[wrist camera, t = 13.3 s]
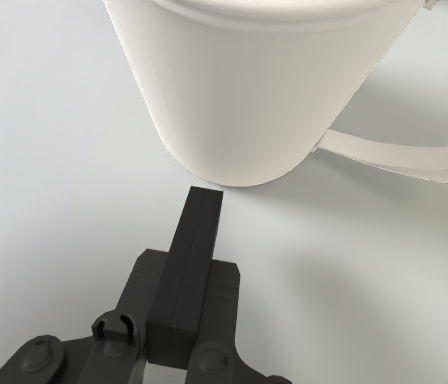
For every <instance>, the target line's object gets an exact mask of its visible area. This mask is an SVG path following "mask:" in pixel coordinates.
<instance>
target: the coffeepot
mask: <svg viewBox="0 0 448 384" xmlns="http://www.w3.org/2000/svg"><path fill="white" fill-rule="evenodd" d="M425 1H426V0H103V2H104V4H105V6H106V9H107V11H108V14H109V16H110V18H111V21H112V23H113V26H114V28H115V31H116V33H117V35H118V38H119V40H120V43H121V45H122V47H123V50H124V52H125V55H126V57H127V60H128V62H129V64H130V67H131V69H132V72H133V74H134V76H135V79H136V81H137V84H138V86H139V89H140V91H141V93H142V96H143V98H144V101H145V103H146V105H147V108H148V110H149V113H150V115H151V118H152V120H153V122H154V125H155V127H156V130H157V132H158V134H159V137H160V139H161V141H162V142H163V144H164V146H165V147H166V149H167V150H168V151H169V153H170V154H171V155H172V156H173V157H174V159H175V160H176V161H177V162H178V163H179V164H181V165H182V166H183V167H184V168H186V169H187V170H188V171H190V172H191V173H193V174H195V175H196V176H198V177H200V178H202V179H204V180H207V181H209V182H213V183H216V184H220V185H225V186H234V187H245V186H253V185H259V184H263V183H266V182H269V181H272V180H274V179H277V178H279V177H281V176H283V175H284V174H286V173H288V172H289V171H291V170H292V169H293V168H295V167H296V166H297V165H298V164H299V163H300V162H301V161H302V160H303V159H304V158H305V157H306V156H307V155H308V154H309V152H310V151H311V152H314V151H315V150H316V149H317V148H323V149H326V150H328V151H331V152H334V153H336V154H339V155H341V156H344V157H347V158H349V159H352V160H355V161H358V162H361V163H364V164H367V165H370V166H373V167H376V168H379V169H383V170H387V171H390V172H394V173H398V174H402V175H406V176H410V177H414V178H419V179H424V180H429V181H434V182H439V183H446V184H448V147H417V146H405V145H395V144H387V143H380V142H374V141H369V140H365V139H362V138H359V137H356V136H353V135H350V134H343V133H340V132H337V131H334V130H330V129H328V128H329V126H330V125H331V124H332V123H333V121H334V120H335V119H336V117H337V116H338V115H339V113H340V112H341V111H342V109H343V108H344V107H345V106H346V104H347V103H348V102H349V100H350V99H351V98H352V96H353V95H354V94H355V93H356V91H357V90H358V89H359V87H360V86H361V85H362V83H363V82H364V81H365V79H366V78H367V77H368V76H369V74H370V73H371V72H372V70H373V69H374V68H375V66H376V65H377V64H378V63H379V61H380V60H381V59H382V57H383V56H384V55H385V53H386V52H387V51H388V49H389V48H390V47H391V46H392V44H393V43H394V42H395V40H396V39H397V38H398V36H399V35H400V34H401V33H402V31H403V30H404V29H405V27H406V26H407V25H408V23H409V22H410V21H411V20H412V18H413V17H414V16H415V14H416V13H417V12H418V10H419V9H420V8H421V6H422V5H423V4H424V3H425ZM437 1H438V0H427V1H426V3H425V5H424V6H423V8H426V9H428V10H431V9H432V7H433V6H434V5H435V4H436V3H437Z"/></svg>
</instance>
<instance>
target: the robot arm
mask: <svg viewBox="0 0 448 384" xmlns="http://www.w3.org/2000/svg"><path fill="white" fill-rule="evenodd" d="M223 192H224V191H218V190H212V189H206V188H200V187H194V186H191V188H190V191H189V194H188V197H187V200H186V202H185V205H184V208H183V211H182V214H181V217H180V220H179V223H178V226H177V229H176V232H175V235H174V238H173V241H172V244H171V247H170V250H169V252H163V251H158V250H152V249H146V250H145V251H144V252H143V253H142V254H141V255H140V256H139V257H138V258H137V260H136V263H135V265H134V267H133V270H132V272H131V274H130V276H129V279H128V282H127V283H126V286H125V288H124V290H123V293H122V295H121V297H120V299H119V302H118V304H117V306H116V309H115V310H111V311H109V312H106V313H104V314H103V315H101V316H100V317H99V318H97V319H96V321H95V322H94V324H93V325H92V326H91V328H92V332H93V335H92V336H90V337H86V338H82V339H76V340H69V341H63V342H61V341H60V340H59V339H58V338H57V337H55V336H50V335H44V336H38V337H35V338H33V339H31V340H29V341H27V342H26V343H25V344H24V345H23V346H22V347H20V348H19V349H18V350H17V351H16V353H15V354H14V355H13V356H12V357H11V358H10V359H9V360H8V361H7V362H6V364H5V365H4V366H3V367H2V368H1V369H0V384H143V372H144V369H145V365H146V362H147V359H148V363H150V364H156V365H161V366H167V367H172V368H178V369H184V370H187V375H186V380H185V384H292V383H291V382H290V381H289V380H287V379H285V378H284V377H282V376H275V375H272V376H269V377H266V376H264V375H262V374H261V373H259V372H257V371H255V370H254V369H252V368H250V367H249V366H248V365H246V364H245V363H244V362H243V361H242V360H241V358H240V357H239V355H238V353H237V351H236V347H235V330H236V319H237V308H238V297H239V286H240V273H239V270H238V267H237V264H236V263H230V262H225V261H219V260H213V259H212V257H213V252H214V247H215V241H216V236H217V230H218V224H219V217H220V211H221V205H222V198H223Z"/></svg>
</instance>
